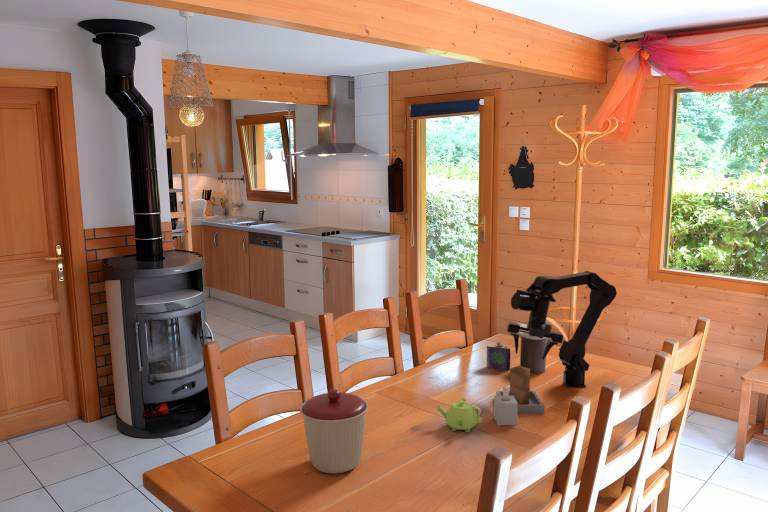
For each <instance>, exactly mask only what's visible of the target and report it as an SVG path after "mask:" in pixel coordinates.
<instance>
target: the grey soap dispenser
mask: <svg viewBox="0 0 768 512" xmlns="http://www.w3.org/2000/svg"><path fill="white" fill-rule="evenodd" d="M502 391H503V396H496V395H494V396H493V397H494V398H493V402H494V403H493V406H494V407H493V418H494V420H495V422H496V425H497V426H516V425H518V414H517V406H518V403H517V401H516V399H515V398H514V396H509V391H510V386H507V385H504V386H502Z"/></svg>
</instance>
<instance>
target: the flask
mask: <svg viewBox="0 0 768 512" xmlns="http://www.w3.org/2000/svg"><path fill="white" fill-rule="evenodd" d="M486 368H487V369H490V368H491V369H492V370H497V369H498V370H500V371H509V372H510V368H511V348H510V347H509V346H507V345H503V344H501V341H497V342H496V345H493V344H487V346H486Z"/></svg>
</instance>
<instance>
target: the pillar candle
mask: <svg viewBox="0 0 768 512" xmlns="http://www.w3.org/2000/svg"><path fill="white" fill-rule="evenodd" d="M547 340H548V338H546V337H543V338H539V337H536V336H530V335H529V334H528V333H523V332H522V334H521V335H520V352H519V354H520V358H519V361H520V362H519V366H522V367H526V368H529V369H530V375H540V374H543V373H545V372H546V364H547V356H546V357H545V358H544V360H543V359H542V358H543V353H544V350H545V347H546V344H547Z"/></svg>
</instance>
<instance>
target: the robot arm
mask: <svg viewBox="0 0 768 512" xmlns="http://www.w3.org/2000/svg"><path fill="white" fill-rule="evenodd" d="M584 285H586V286H587V288H588V289H589V290H590V293H589V304H588V307H587V308H586V310H585V312H584V314H583V316H582V318H581V320H580V321H579V323H578V326H577V328H576V330H575V331H574V334H573V335H572V338H571V339H569V340H564V335H563V334H562V333H561V332H558V331H555V330H552V324H547V323H546V322H547V317H548V312H549V308H550V304H551V303H556V302H557V301H556V299H555V297H553V295H554V294H557V293H559V292H560V291H561V290H564V289H568V288H574V287H580V286H584ZM617 294H618V292H617V289H616V287H615V285H613V284H610V283H608V282H607V281H605V280H604V278H601V277H600V276H599V275H598V274H597V273H596V272H594V271H591V270H585V271H581V272H576V273H572V274H565V275H559V276H552V275H551V276H550V275H539V276H536V277H535V279H534V281H533V282H532V283H531V284H530V285H529V287H528V288H526V289H525V290H522V289H516V292H515V293H514V294H513V295H512V297H511V299H510V306H511V309H513V310H518V311H524V312H530V313H529V316H528V321H527V327H523V326H521V325H520V323H517V322H513V321H510V322H508V323H507V327H506V332H508V333H509V334H510V335H511V336H513V340H514V349H515V354H516V355H518V352H519V351H518V350H519V341H520V333H522V334H523V333H528V334H529V335H530V336H536V337H539V338H543V337H546V338H547V344H546V347H545V350H544V353H543V358H542V359H543V360H544V358H545V357H546V358H547V355H548V353H549V351H550V350H551V349H552V348H553V347H554V346H555V345H556V346H557V345H558V344H561V346H560V348H559V349H558V351H559V352H558V357H559V360H560V361H561V363H562V366H564V370H563V378H562V379H563V383H564V384H565V385H566V386H567V388H586V387H587V385H586V383H585V381H586V378H585V377H586V372H588V371H589V368H590V363H588V362H587V360H585V356H586V344H587V342H588V340H589V338H590V336H591V334H592V332H593V330H594V329H595V327H596V324H597V322H598V321H599V318H600V317H601V314H602V312H603V310H605V308H607V307H609V306H610V305H611V304H612V302H613V301H614V300H615V299H616V297H617Z"/></svg>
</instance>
